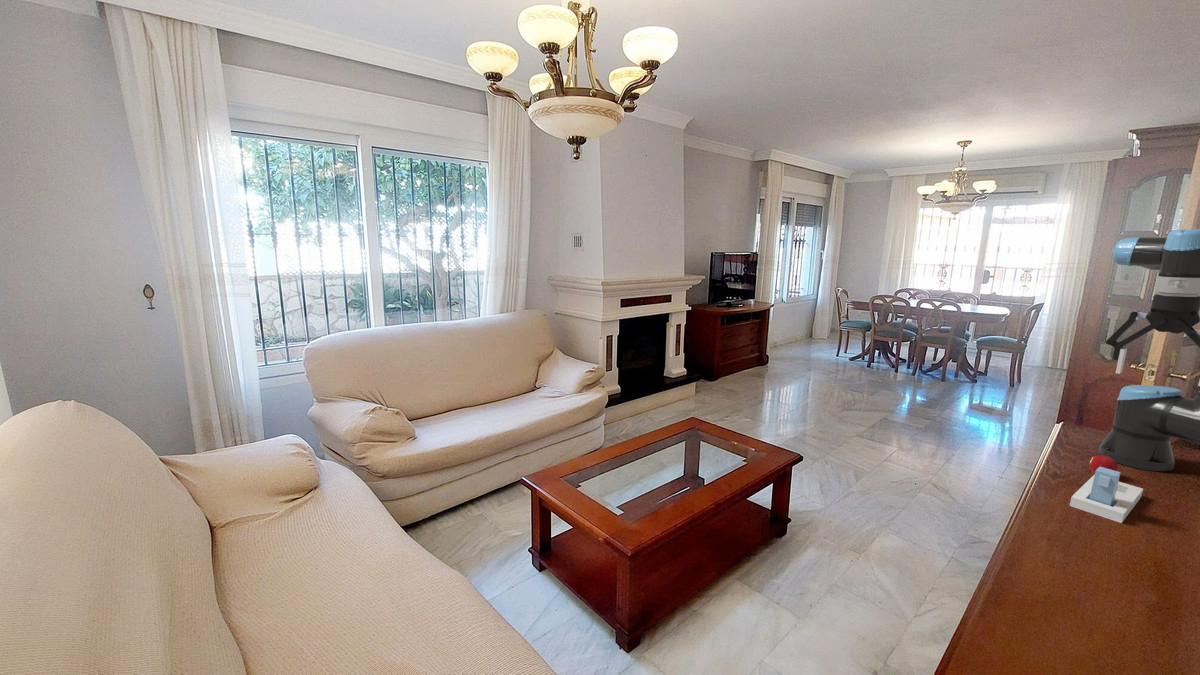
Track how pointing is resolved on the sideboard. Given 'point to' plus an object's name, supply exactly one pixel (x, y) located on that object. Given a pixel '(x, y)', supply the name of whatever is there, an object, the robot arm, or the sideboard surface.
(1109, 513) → the panel
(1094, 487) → the plug
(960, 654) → the sideboard surface
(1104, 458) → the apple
